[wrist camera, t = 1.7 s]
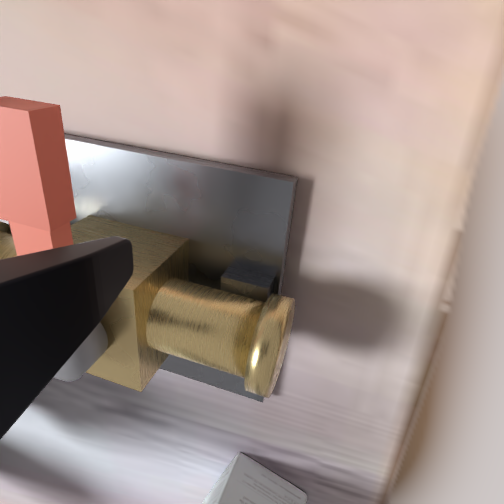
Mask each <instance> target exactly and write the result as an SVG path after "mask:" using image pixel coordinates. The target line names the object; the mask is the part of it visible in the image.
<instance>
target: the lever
mask: <svg viewBox="0 0 504 504" xmlns="http://www.w3.org/2000/svg"><path fill="white" fill-rule="evenodd" d="M75 218H77V217H76V210H75V204H74V197H73V190H72V183H71V177H70V170H69V163H68V156H67V150H66V143H65V136H64V129H63V123H62V116H61V109H60V105H55V104H49V103H43V102H37V101H31V100H25V99H19V98H13V97H7V96H4V97H0V219H3V220H7V221H9V224H10V228H11V232H12V237H13V241H14V245H15V249H16V253H17V256H20V255H25V254H30V253H35V252H39V251H44V250H49V249H54V248H59V247H64V246H68V245H73V238H72V232H71V226H70V221H72V220H74V219H75ZM107 346H108V338H107V334H106V331H105V329H104V327H103V325H102V324H101V322H100V323H99V324H98V325H97V326H96V328H95V329H94V330H93V331H92V332H91V334H90V335H89V336H88V337H87V338H86V340H85V341H84V342H83V343H82V344H81V345H80V347H79V348H78V349H77V350H76V351H75V352H74V354H73V355H72V356H71V357H70V358H69V360H68V361H67V362H66V363H65V364H64V365H63V367H62V368H61V369H60V370H59V371H58V372H57V374H56V375H55V376H54V378H56V379H59V380H62V381H68V382H70V381H76V380H78V379H79V378H81V377H82V376H83V374H84V373H85V372H86V371H87V370H88V369H89V368H90V367H91V366H92V365H93V364H94V363H95V362H96V361H97V360H98V359H99V358H100V357H101V356H102V355H103V354H104V352H105V351H106V349H107Z"/></svg>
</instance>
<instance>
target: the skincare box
mask: <svg viewBox="0 0 504 504" xmlns="http://www.w3.org/2000/svg"><path fill="white" fill-rule="evenodd" d="M306 501H307V495H306V494H305V492H303V491H301V490H300V489H298V488H297V487H295V486H294V485H292V484H291V483H289V482H287V481H286V480H284V479H283V478H281V477H279V476H278V475H276V474H275V473H273V472H272V471H270V470H268V469H267V468H265V467H264V466H262V465H261V464H259V463H257V462H256V461H254V460H253V459H251V458H249V457H248V456H246V455H244V454H243V453H240V452H239V453H238V454H237V455H236V456H235V457H234V459H233V460H232V461H231V463H230V464H229V465H228V467H227V468H226V470H225V471H224V472H223V473H222V475H221V476H220V478H219V479H218V481H217V482H216V483H215V485H214V486H213V488H212V489H211V491H210V493H209V494H208V496H207V497H206V498H205V499H204V501H203V503H202V504H306Z"/></svg>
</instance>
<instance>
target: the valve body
mask: <svg viewBox="0 0 504 504" xmlns="http://www.w3.org/2000/svg"><path fill="white" fill-rule="evenodd" d="M64 136H65V143H66V150H67V156H68V163H69V170H70V177H71V183H72V190H73V197H74V204H75V210H76V217H77V218H75V219H74V220H72V221H70V226H71V232H72V238H73V244H78V243H83V242H88V241H92V240H97V239H102V238H107V237H112V236H118V237H122V238H126V239H129V240H130V241H131V243H132V251H133V264H134V270H133V274H132V276H131V278H130V280H129V281H128V282H127V284H126V285H125V287H124V288H123V290H122V291H121V293H120V294H119V296H118V297H117V299H116V300H115V301H114V303H113V304H112V306H111V307H110V309H109V310H108V312H107V313H106V315H105V316H104V317H103V319H102V320H101V321H100V322H101V324H102V325H103V327H104V329H105V331H106V334H107V338H108V346H107V349H106V351H105V352H104V354H103V355H102V356H101V357H100V358H99V359H98V360H97V361H96V362H95V363H94V364H93V365H92V366H91V367H90V368H89V369H88V370H87V371H86V373H89V374H92V375H94V376H97V377H100V378H103V379H106V380H109V381H111V382H114V383H117V384H120V385H123V386H126V387H128V388H131V389H134V390H137V391H140V392H142V390H143V389H144V388H145V386H146V385H147V384H148V382H149V381H150V380H151V378H152V377H153V376H154V374H155V373H156V372H157V370H158V369H159V368H161V369H164V370H167V371H170V372H173V373H176V374H179V375H182V376H185V377H188V378H191V379H194V380H197V381H200V382H203V383H206V384H209V385H212V386H215V387H218V388H221V389H224V390H227V391H230V392H233V393H236V394H239V395H242V396H245V397H248V398H251V399H254V400H257V401H260V402H263V400H264V398H265V397H266V398H269V397H270V395H271V393H272V391H273V389H274V387H275V384H276V381H277V379H278V376H279V373H280V370H281V367H282V363H283V360H284V356H285V353H286V349H287V345H288V341H289V337H290V332H291V328H292V323H293V317H294V310H295V299H293V298H289V297H286V296H282V295H281V289H282V282H283V275H284V268H285V262H286V255H287V248H288V241H289V234H290V227H291V220H292V213H293V206H294V200H295V193H296V186H297V179H298V177H294V176H289V175H283V174H278V173H273V172H267V171H262V170H257V169H251V168H246V167H241V166H235V165H230V164H224V163H219V162H214V161H208V160H203V159H198V158H192V157H187V156H182V155H176V154H171V153H165V152H160V151H155V150H149V149H144V148H139V147H133V146H128V145H123V144H117V143H112V142H106V141H101V140H96V139H90V138H85V137H80V136H74V135H69V134H64ZM15 256H17V253H16V249H15V245H14V241H13V237H12V232H11V228H10V224H6V223H3V222H0V260H1V259H6V258H11V257H15Z"/></svg>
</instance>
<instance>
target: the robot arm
mask: <svg viewBox="0 0 504 504" xmlns="http://www.w3.org/2000/svg"><path fill="white" fill-rule="evenodd" d="M133 270H134V264H133V251H132V243H131V241H130V240H129V239H126V238H122V237H118V236H112V237H107V238H102V239H97V240H92V241H88V242H83V243H78V244H73V245H68V246H64V247H59V248H54V249H49V250H44V251H39V252H35V253H30V254H25V255H20V256H15V257H11V258H6V259H1V260H0V439H1V438H2V437H3V436H4V435H5V434H6V432H7V431H8V430H9V429H10V428H11V426H12V425H13V424H14V423H15V422H16V421H17V419H18V418H19V417H20V416H21V415H22V414H23V412H24V411H25V410H26V409H27V408H28V407H29V405H30V404H31V403H32V402H33V401H34V399H35V398H36V397H37V396H38V395H39V394H40V392H41V391H42V390H43V389H44V388H45V387H46V385H47V384H48V383H49V382H50V381H51V379H52V378H53V377H54V376H55V375H56V374H57V372H58V371H59V370H60V369H61V368H62V367H63V365H64V364H65V363H66V362H67V361H68V360H69V358H70V357H71V356H72V355H73V354H74V352H75V351H76V350H77V349H78V348H79V347H80V345H81V344H82V343H83V342H84V341H85V340H86V338H87V337H88V336H89V335H90V334H91V332H92V331H93V330H94V329H95V328H96V326H97V325H98V324H99V323H100V321H101V320H102V319H103V317H104V316H105V315H106V313H107V312H108V310H109V309H110V307H111V306H112V304H113V303H114V301H115V300H116V299H117V297H118V296H119V294H120V293H121V291H122V290H123V288H124V287H125V285H126V284H127V282H128V281H129V280H130V278H131V276H132V274H133Z"/></svg>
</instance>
